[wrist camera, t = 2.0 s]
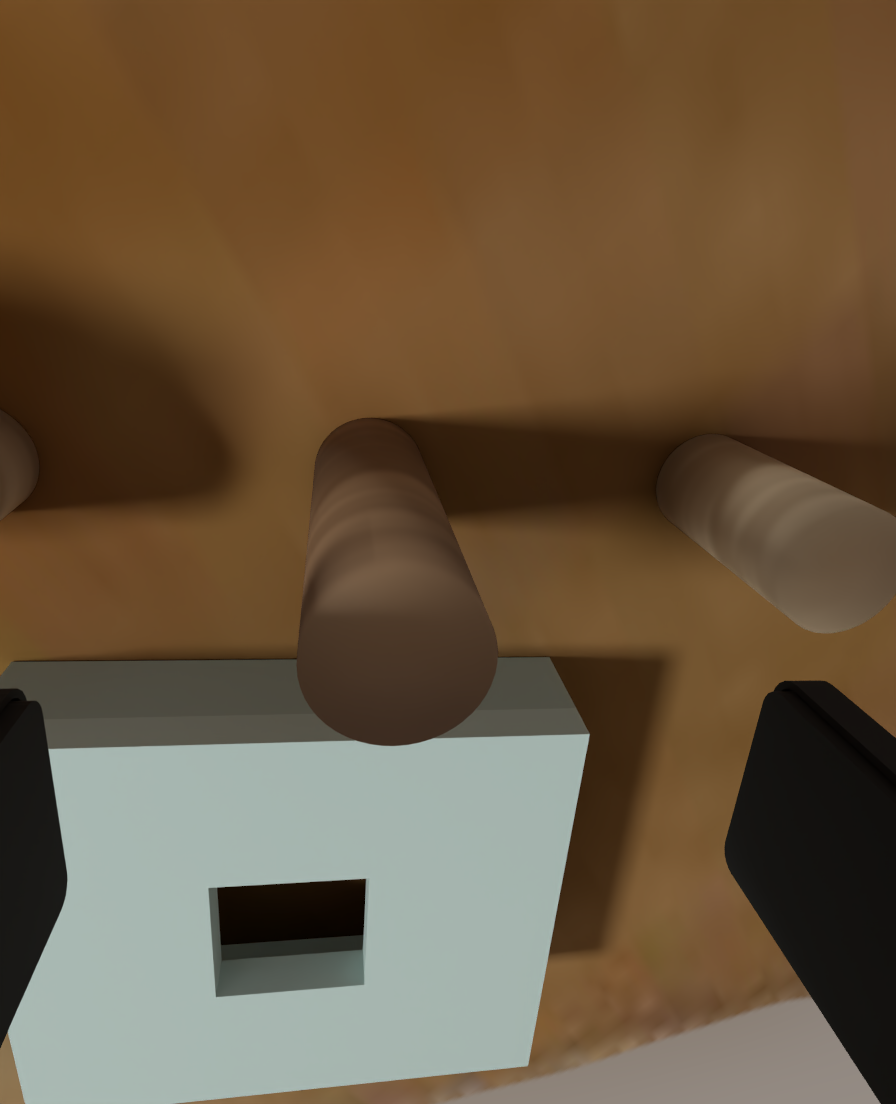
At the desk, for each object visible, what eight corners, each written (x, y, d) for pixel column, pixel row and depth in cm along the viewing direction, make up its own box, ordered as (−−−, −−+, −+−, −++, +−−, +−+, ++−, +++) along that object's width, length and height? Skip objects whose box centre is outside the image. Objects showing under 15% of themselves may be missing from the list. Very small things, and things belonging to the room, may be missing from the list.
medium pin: (666, 431, 20) (801, 505, 15) (761, 436, 21) (929, 509, 15) (647, 528, 22) (765, 633, 16) (737, 530, 22) (885, 632, 16)
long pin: (315, 415, 19) (295, 570, 10) (426, 420, 19) (508, 573, 10) (314, 521, 20) (296, 748, 11) (419, 523, 20) (487, 743, 11)
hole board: (11, 661, 20) (-60, 752, 17) (549, 657, 23) (589, 734, 19) (72, 995, 26) (28, 1118, 22) (503, 960, 28) (527, 1066, 25)
